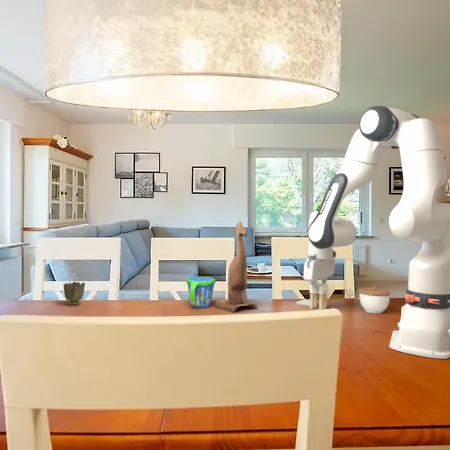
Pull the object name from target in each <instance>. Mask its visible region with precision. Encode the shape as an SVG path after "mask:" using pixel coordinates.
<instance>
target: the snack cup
mask: <svg viewBox="0 0 450 450" xmlns="http://www.w3.org/2000/svg"><path fill="white" fill-rule="evenodd" d="M185 282H186V284H187V286H188V287H187V289H188V299H189V304H190V307H193V308H195V309H196V308H198V309H199V308H201V309H204V308H208V307H210V306H211V305H212V298H213V293H214V287H215V284H216V279H215V278H213V277H210V276H191V277H188V278H186V281H185Z"/></svg>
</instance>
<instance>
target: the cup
mask: <svg viewBox="0 0 450 450" xmlns="http://www.w3.org/2000/svg"><path fill="white" fill-rule="evenodd" d="M85 286H86V282H84V281H82V283H80V281H77V282H76V281H73V282H71V281H70V282H64V284H63V292H64V293H63V294H64V297H65V299H66V300H67V301H68V305H69V306H71V307H72V306H73V307H74V306H78V305H79V304H80V301H81V300H82V299H83V297H84V293H85Z"/></svg>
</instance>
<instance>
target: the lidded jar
mask: <svg viewBox="0 0 450 450" xmlns="http://www.w3.org/2000/svg"><path fill="white" fill-rule="evenodd" d="M358 292H359V294H358V295H359V296H358V299H359V303H360V306H361V307H362V308H363V309H364V311H365V312H367V313H370V314H383V312H384V311H385V310H386V309H387V308H388V307H389V304H390V299H391V298H390V297H391V290H388V289H385V288H381V287H377V285H373V286H372V287H361V288H359V289H358Z"/></svg>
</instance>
